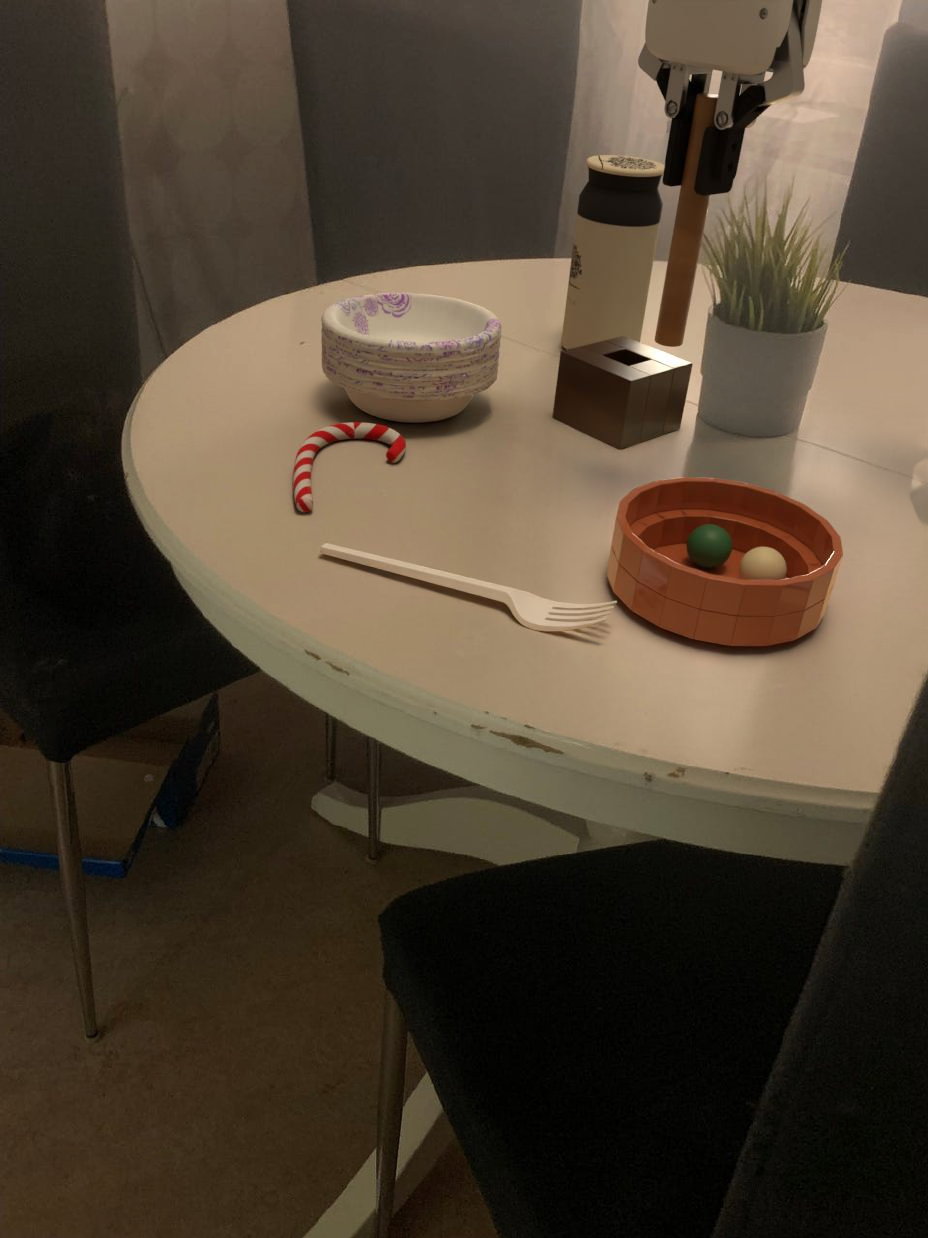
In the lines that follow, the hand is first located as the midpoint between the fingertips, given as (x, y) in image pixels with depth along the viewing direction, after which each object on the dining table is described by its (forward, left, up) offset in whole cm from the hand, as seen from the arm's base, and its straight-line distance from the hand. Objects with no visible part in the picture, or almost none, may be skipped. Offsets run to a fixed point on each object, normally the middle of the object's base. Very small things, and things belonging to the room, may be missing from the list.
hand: (696, 186), depth 71 cm
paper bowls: (+4, -24, -23) cm, 33 cm away
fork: (+21, +3, -23) cm, 31 cm away
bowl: (+7, +12, -23) cm, 27 cm away
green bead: (+6, +10, -20) cm, 24 cm away
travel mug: (-22, -25, -23) cm, 40 cm away
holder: (-9, -11, -23) cm, 26 cm away
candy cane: (+17, -16, -23) cm, 32 cm away
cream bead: (+5, +14, -20) cm, 26 cm away
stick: (0, 0, -11) cm, 11 cm away
